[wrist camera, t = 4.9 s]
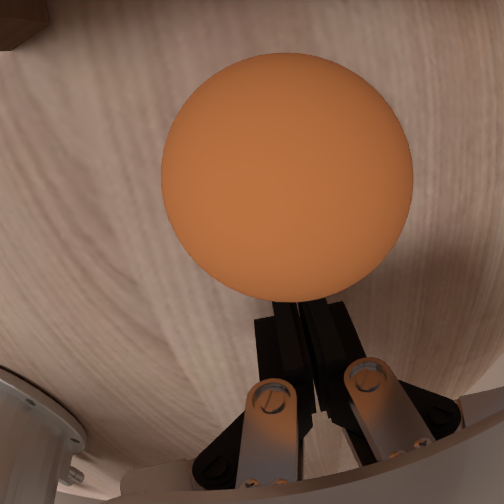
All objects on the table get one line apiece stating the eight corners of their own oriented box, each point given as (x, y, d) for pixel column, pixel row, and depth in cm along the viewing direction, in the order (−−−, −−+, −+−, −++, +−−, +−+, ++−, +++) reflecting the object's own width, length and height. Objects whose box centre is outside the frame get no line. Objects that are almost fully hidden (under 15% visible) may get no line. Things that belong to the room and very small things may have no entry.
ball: (494, 274, 5) (406, 16, 5) (147, 344, 4) (135, 14, 4) (367, 280, 10) (334, 122, 11) (192, 309, 10) (173, 136, 10)
